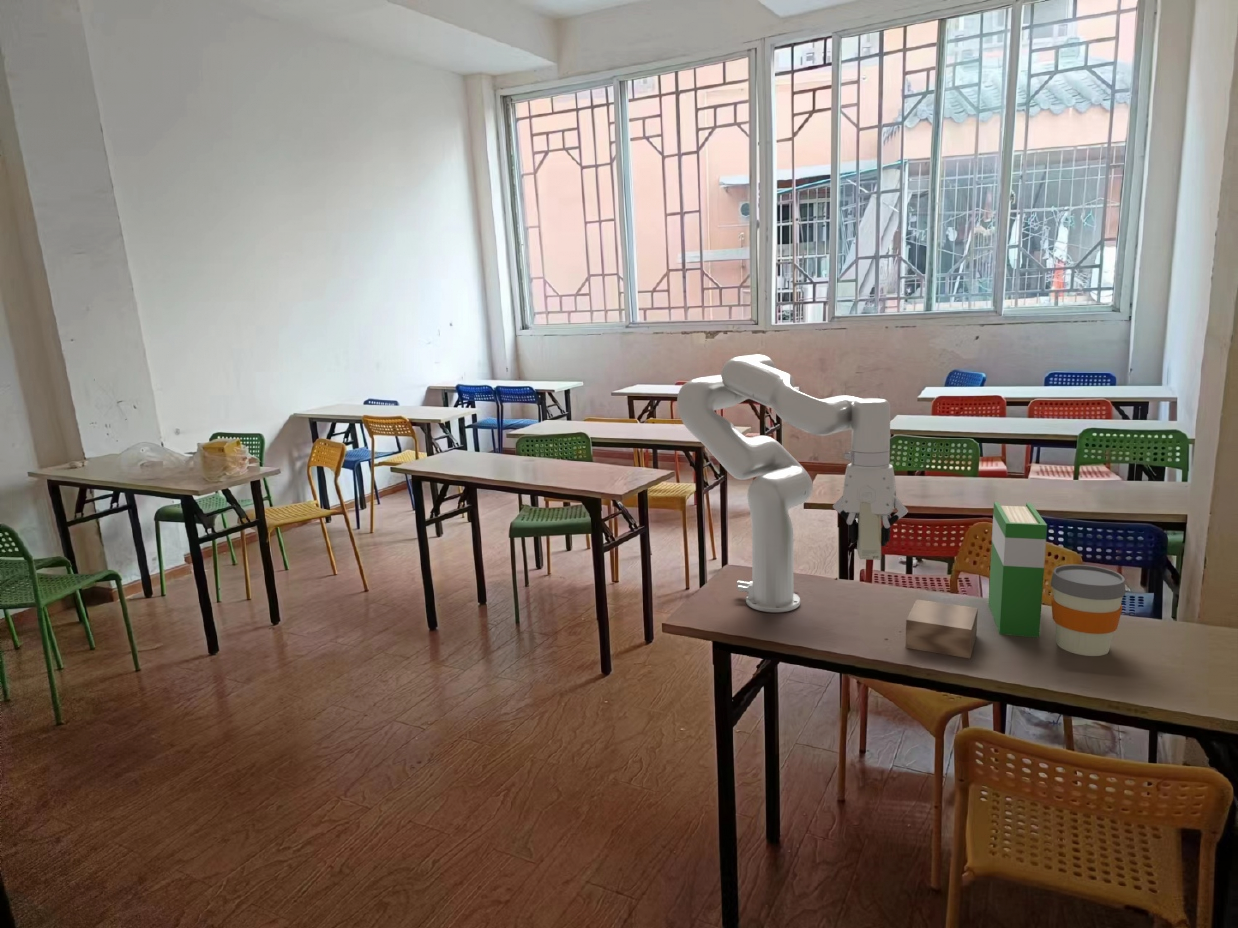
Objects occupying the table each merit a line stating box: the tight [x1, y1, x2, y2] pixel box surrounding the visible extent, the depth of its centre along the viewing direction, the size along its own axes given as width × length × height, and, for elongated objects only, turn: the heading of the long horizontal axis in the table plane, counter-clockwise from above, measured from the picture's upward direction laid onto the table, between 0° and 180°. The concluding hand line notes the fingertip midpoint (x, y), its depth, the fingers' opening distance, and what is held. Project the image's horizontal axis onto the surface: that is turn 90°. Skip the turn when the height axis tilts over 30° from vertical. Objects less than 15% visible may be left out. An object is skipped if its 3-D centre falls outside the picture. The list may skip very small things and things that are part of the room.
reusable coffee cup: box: [1050, 564, 1126, 657], centre depth 151 cm, size 12×12×15 cm
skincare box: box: [856, 502, 882, 561], centre depth 161 cm, size 6×4×12 cm
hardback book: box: [988, 501, 1048, 638], centre depth 165 cm, size 18×7×24 cm, turn 162°
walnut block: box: [905, 598, 979, 660], centre depth 157 cm, size 12×12×6 cm
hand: (869, 542), depth 161 cm, fingers closed on skincare box, 5 cm apart
